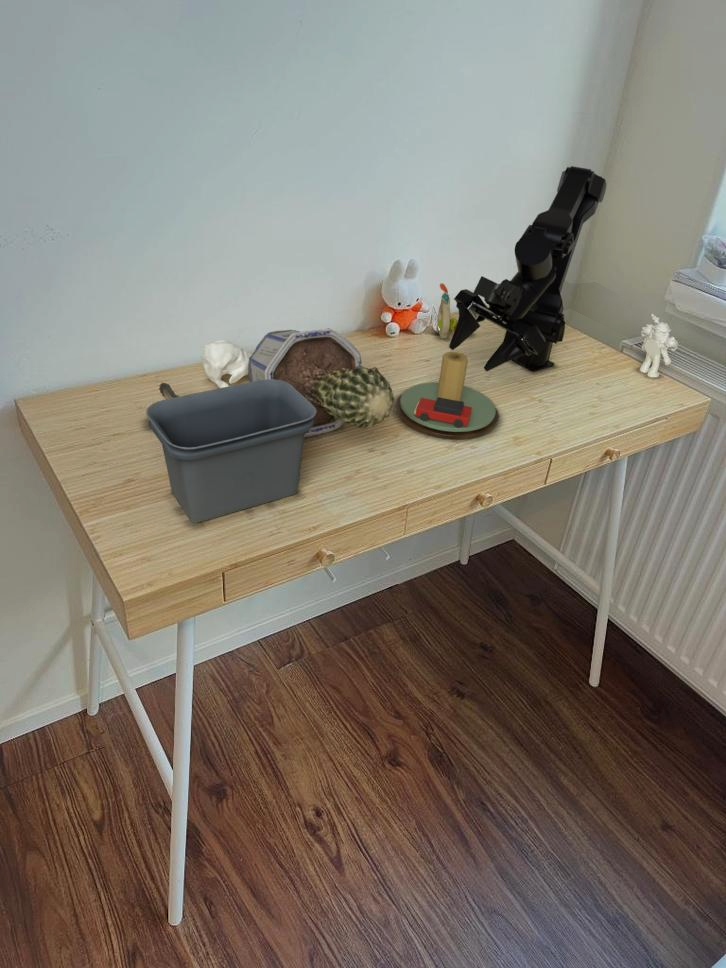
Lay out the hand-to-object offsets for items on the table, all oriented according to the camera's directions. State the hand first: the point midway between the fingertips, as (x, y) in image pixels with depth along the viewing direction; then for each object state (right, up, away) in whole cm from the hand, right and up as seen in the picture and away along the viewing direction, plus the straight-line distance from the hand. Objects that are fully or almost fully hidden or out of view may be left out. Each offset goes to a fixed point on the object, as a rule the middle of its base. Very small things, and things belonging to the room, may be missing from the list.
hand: (467, 358), depth 134 cm
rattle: (+1, +10, +33) cm, 34 cm away
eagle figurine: (-49, -12, -6) cm, 51 cm away
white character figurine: (+41, +1, +25) cm, 48 cm away
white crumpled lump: (-41, -3, +8) cm, 42 cm away
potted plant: (-25, -14, -5) cm, 29 cm away
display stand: (-3, -9, +4) cm, 10 cm away
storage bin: (-37, -23, -21) cm, 49 cm away
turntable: (-3, -8, +3) cm, 9 cm away
